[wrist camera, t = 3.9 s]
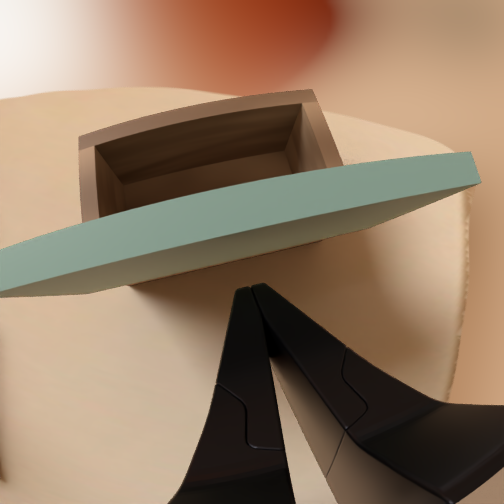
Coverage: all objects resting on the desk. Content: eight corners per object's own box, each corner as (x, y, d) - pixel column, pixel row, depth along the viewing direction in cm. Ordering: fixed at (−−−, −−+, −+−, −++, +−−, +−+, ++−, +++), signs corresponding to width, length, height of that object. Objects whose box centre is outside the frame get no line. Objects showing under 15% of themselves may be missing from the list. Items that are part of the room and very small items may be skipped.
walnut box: (321, 240, 23) (359, 211, 16) (128, 285, 21) (88, 273, 14) (290, 143, 24) (312, 89, 17) (113, 182, 22) (78, 136, 15)
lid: (364, 209, 16) (369, 228, 16) (83, 273, 14) (87, 293, 14) (470, 151, 8) (481, 182, 7) (-29, 260, 6) (-25, 298, 6)
